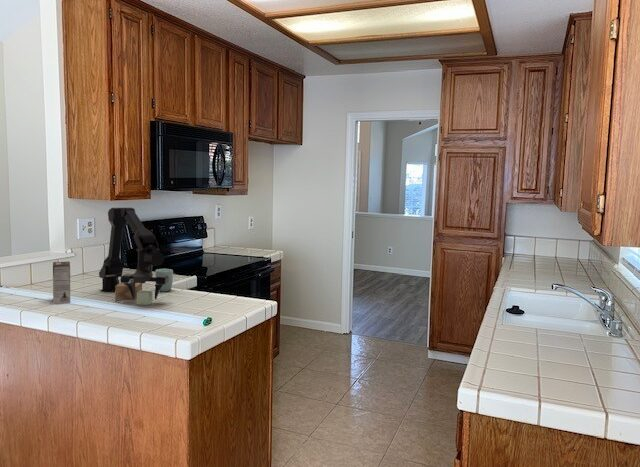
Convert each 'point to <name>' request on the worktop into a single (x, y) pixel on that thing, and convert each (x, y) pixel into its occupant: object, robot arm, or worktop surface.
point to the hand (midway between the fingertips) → (144, 298)
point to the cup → (165, 272)
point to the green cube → (144, 297)
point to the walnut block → (126, 291)
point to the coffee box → (61, 282)
